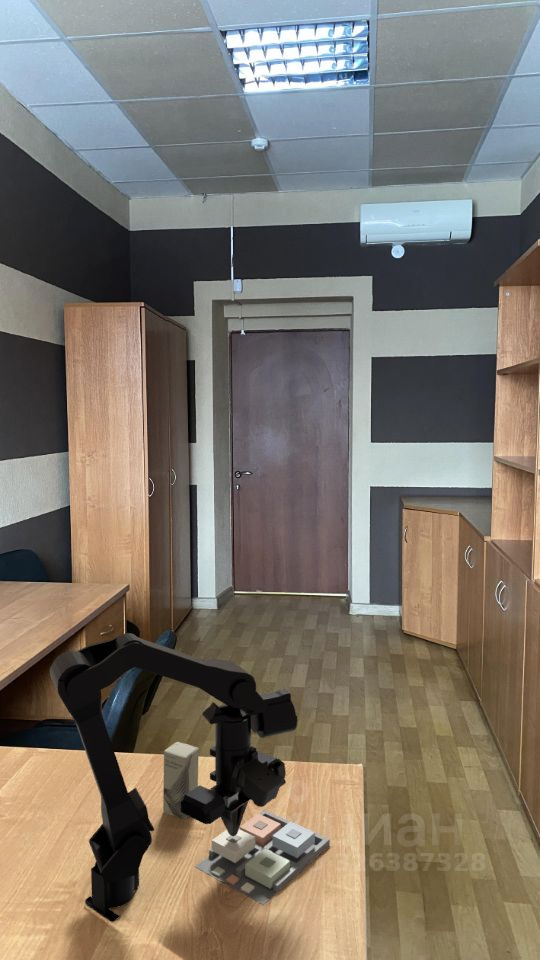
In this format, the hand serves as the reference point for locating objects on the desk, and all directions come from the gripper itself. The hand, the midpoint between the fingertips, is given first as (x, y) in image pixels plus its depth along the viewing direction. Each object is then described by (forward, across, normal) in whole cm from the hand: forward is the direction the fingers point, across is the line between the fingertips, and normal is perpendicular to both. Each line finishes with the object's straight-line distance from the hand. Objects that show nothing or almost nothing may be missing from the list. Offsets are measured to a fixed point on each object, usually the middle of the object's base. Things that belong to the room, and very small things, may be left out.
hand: (233, 834), depth 112 cm
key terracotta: (+4, +7, 0) cm, 8 cm away
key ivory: (+2, 0, 0) cm, 3 cm away
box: (+5, +5, +16) cm, 18 cm away
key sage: (+4, 0, -7) cm, 8 cm away
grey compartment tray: (+5, +4, -4) cm, 7 cm away
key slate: (+2, +7, -7) cm, 10 cm away
